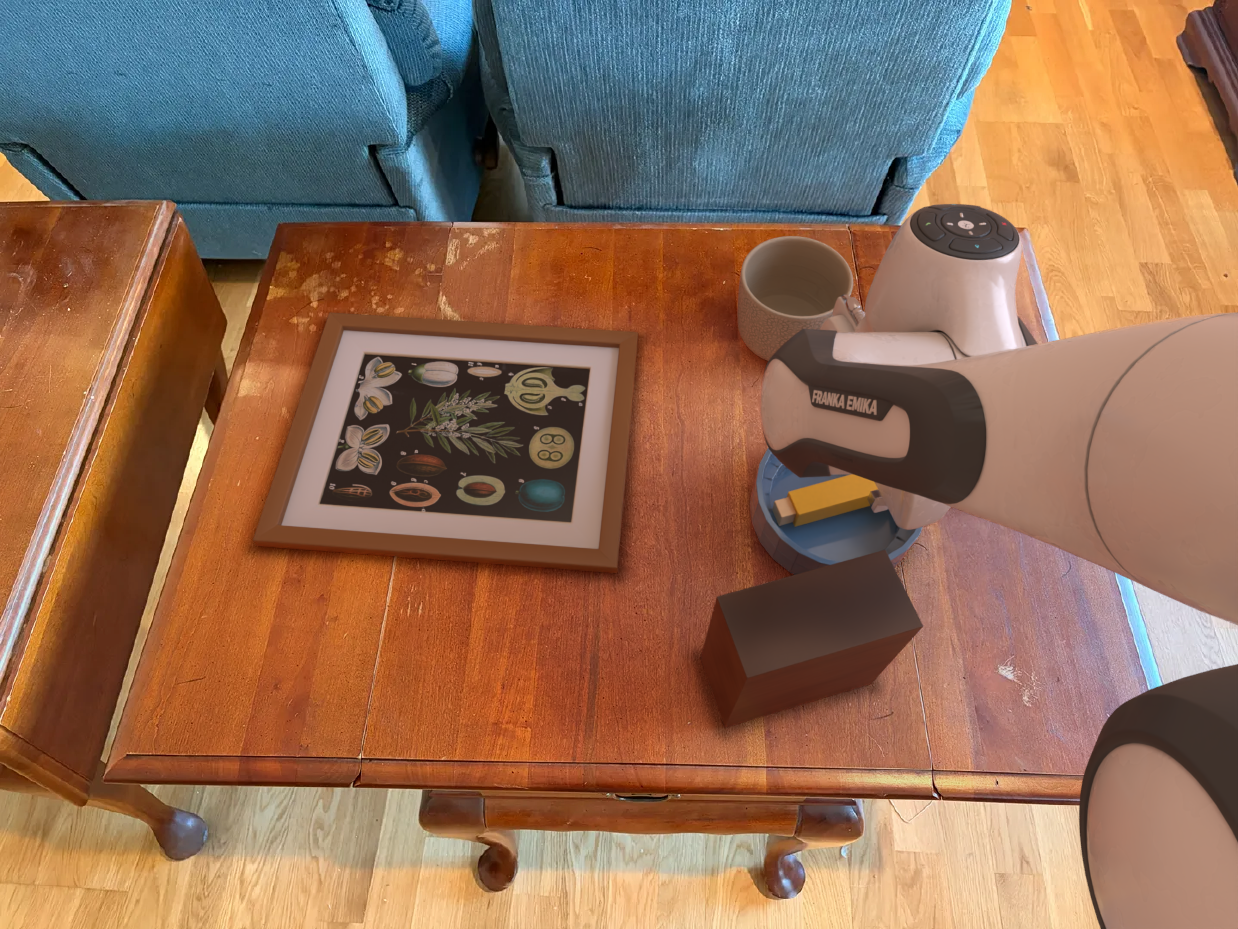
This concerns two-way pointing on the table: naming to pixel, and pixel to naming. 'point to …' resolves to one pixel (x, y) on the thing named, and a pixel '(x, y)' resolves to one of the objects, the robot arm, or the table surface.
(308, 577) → the table surface
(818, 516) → the pencil
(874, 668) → the dark brown rectangular block
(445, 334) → the wall art
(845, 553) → the bowl
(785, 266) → the planter
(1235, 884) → the robot arm
